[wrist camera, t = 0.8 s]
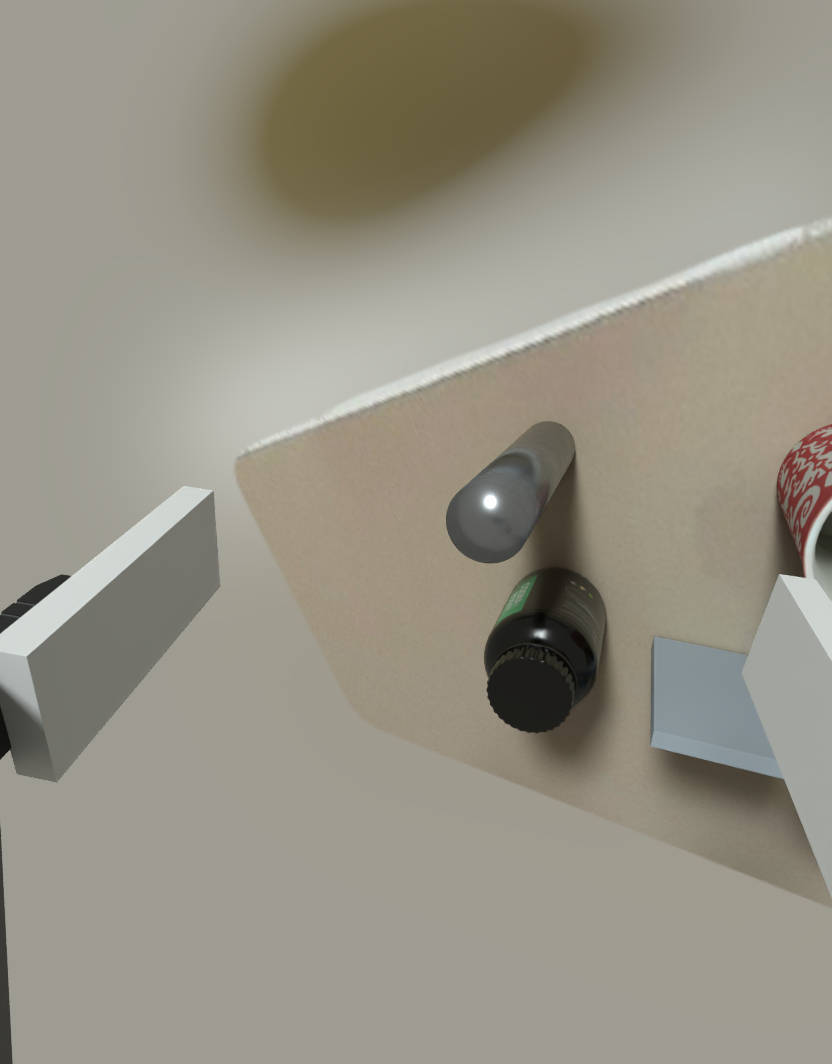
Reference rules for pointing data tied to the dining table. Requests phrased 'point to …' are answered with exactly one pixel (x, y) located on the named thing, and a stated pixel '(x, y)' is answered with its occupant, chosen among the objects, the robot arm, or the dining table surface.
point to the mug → (810, 503)
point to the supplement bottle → (545, 649)
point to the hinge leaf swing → (706, 707)
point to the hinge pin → (510, 494)
